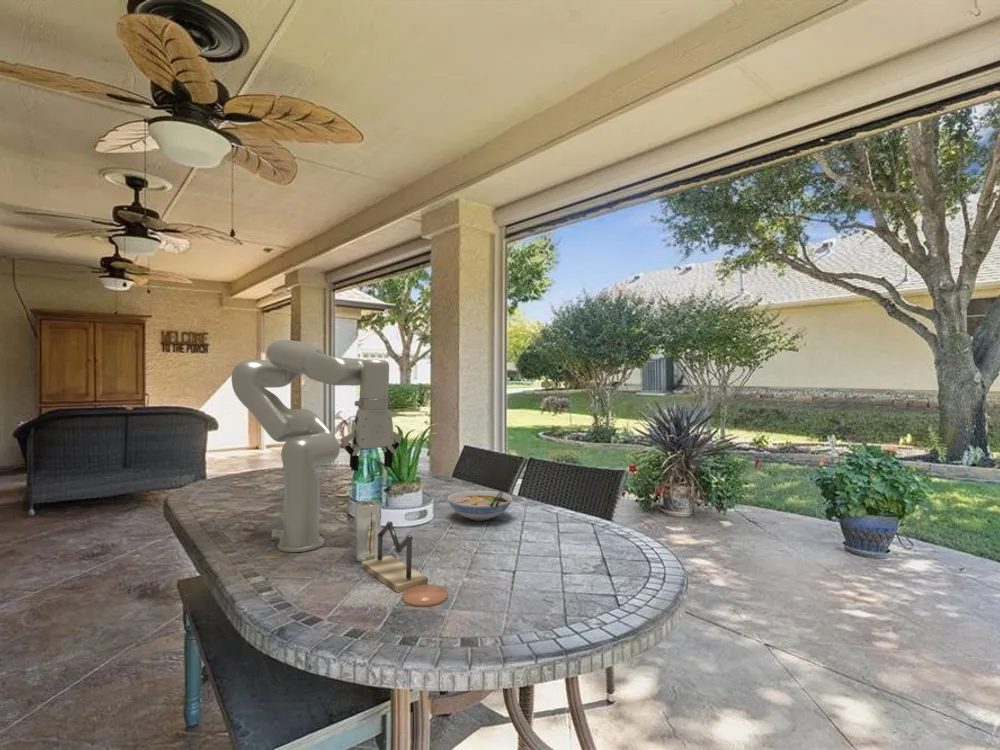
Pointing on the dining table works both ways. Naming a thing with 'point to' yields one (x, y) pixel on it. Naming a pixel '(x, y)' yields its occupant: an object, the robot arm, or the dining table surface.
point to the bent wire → (396, 546)
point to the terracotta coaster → (425, 595)
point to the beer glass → (367, 529)
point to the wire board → (394, 573)
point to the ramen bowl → (479, 504)
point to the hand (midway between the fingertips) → (371, 468)
